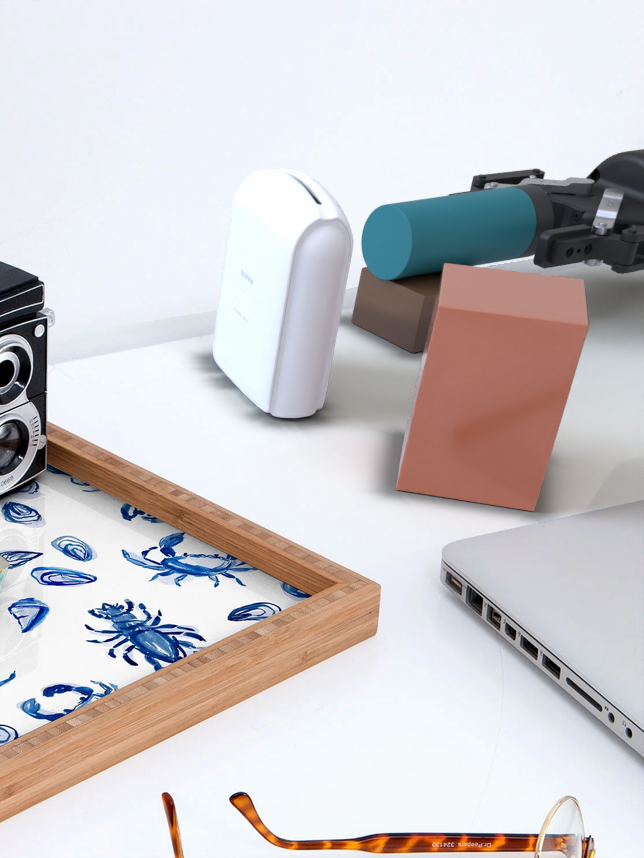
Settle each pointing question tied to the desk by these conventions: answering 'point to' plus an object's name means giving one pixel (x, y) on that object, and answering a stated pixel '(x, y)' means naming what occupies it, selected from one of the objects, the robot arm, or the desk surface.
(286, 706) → the desk surface
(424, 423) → the plinth
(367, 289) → the block
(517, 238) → the bottle
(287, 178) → the photo printer
